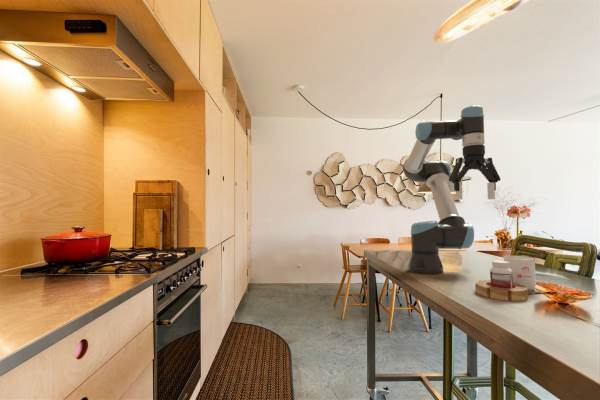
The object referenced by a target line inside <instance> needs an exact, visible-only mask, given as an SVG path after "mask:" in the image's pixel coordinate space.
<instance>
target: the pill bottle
mask: <svg viewBox="0 0 600 400" xmlns="http://www.w3.org/2000/svg"><path fill="white" fill-rule="evenodd" d="M491 265H492V267H491V268H490V269H489V273H490V274H489V276H490V279H489V280H491V286H492V287H497V288H505V289H508V288H513V277H512V270H511V269H509V268H508V267H509V262H506V261H504V260H492V261H491Z"/></svg>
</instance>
